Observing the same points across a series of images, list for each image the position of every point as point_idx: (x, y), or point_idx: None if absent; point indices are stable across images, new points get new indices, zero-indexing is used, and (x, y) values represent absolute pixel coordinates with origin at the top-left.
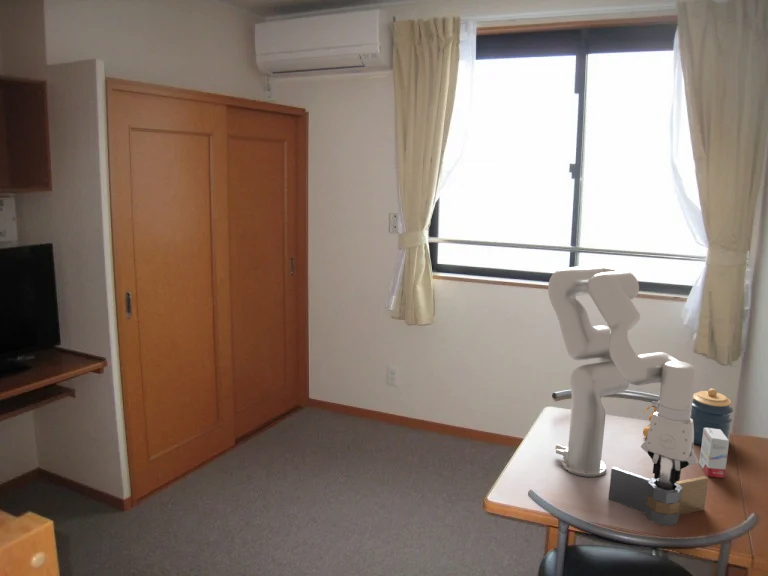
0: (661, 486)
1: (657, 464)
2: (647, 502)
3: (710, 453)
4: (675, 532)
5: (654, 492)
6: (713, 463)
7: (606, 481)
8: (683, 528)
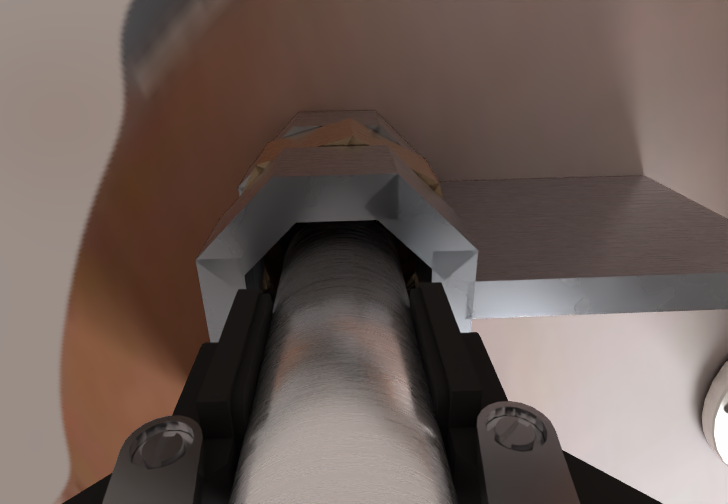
0: (351, 247)
1: (460, 402)
2: (424, 162)
3: None
4: (213, 90)
5: (385, 162)
6: None
7: (681, 339)
8: (202, 168)
